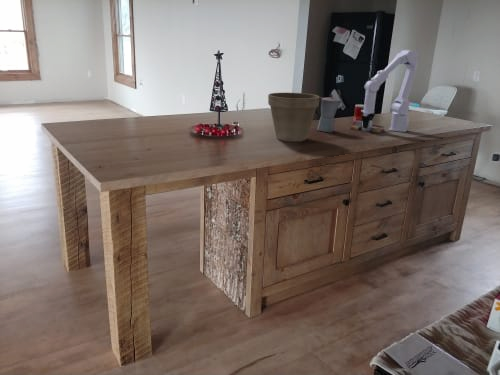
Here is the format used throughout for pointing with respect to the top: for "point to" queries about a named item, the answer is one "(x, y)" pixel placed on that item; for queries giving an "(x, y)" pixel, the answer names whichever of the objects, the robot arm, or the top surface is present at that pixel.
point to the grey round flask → (360, 123)
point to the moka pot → (327, 113)
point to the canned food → (358, 113)
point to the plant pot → (292, 114)
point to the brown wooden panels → (374, 129)
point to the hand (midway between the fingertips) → (366, 127)
